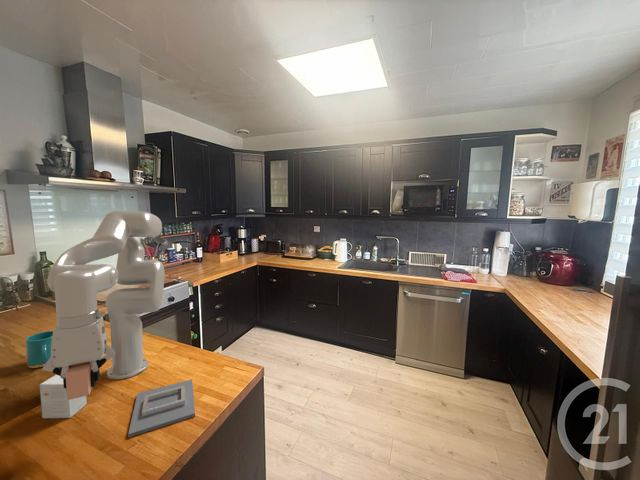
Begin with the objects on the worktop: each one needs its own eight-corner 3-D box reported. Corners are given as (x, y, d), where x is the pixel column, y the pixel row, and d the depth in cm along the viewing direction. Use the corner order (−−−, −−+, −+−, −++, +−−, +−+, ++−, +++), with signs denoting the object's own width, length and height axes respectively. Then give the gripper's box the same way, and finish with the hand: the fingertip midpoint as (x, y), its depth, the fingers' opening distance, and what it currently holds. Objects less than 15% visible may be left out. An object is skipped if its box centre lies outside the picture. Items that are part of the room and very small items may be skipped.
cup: (27, 376, 92) (25, 346, 91) (27, 363, 100) (25, 335, 99) (62, 365, 99) (60, 337, 98) (60, 354, 107) (58, 328, 106)
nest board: (137, 396, 83) (137, 388, 83) (192, 381, 91) (192, 375, 91) (128, 437, 67) (127, 429, 67) (195, 416, 75) (194, 408, 75)
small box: (87, 404, 79) (85, 372, 78) (70, 418, 73) (68, 384, 73) (60, 404, 79) (58, 372, 78) (41, 418, 73) (39, 384, 72)
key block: (77, 383, 68) (75, 358, 68) (96, 379, 70) (95, 355, 70) (67, 400, 62) (65, 373, 62) (88, 395, 64) (87, 369, 64)
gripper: (122, 309, 72) (125, 370, 74) (38, 319, 64) (44, 387, 65) (116, 318, 65) (120, 385, 67) (22, 331, 57) (29, 407, 59)
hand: (82, 385), depth 66 cm, fingers closed on key block, 4 cm apart
